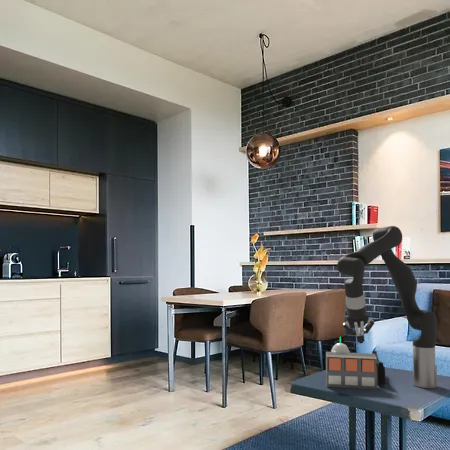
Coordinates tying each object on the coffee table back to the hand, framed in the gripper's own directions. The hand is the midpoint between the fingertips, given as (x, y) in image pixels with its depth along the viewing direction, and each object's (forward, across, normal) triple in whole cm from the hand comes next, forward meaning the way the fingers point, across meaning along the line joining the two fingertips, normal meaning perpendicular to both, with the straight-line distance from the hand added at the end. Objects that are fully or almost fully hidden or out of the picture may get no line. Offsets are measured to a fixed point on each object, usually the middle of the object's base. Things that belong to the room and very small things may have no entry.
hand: (360, 342), depth 200 cm
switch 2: (+17, +5, -7) cm, 19 cm away
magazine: (+33, -7, -20) cm, 39 cm away
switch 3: (+18, -2, -7) cm, 19 cm away
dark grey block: (+24, +6, -6) cm, 26 cm away
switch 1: (+16, +12, -8) cm, 21 cm away
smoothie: (+27, +10, -14) cm, 32 cm away
